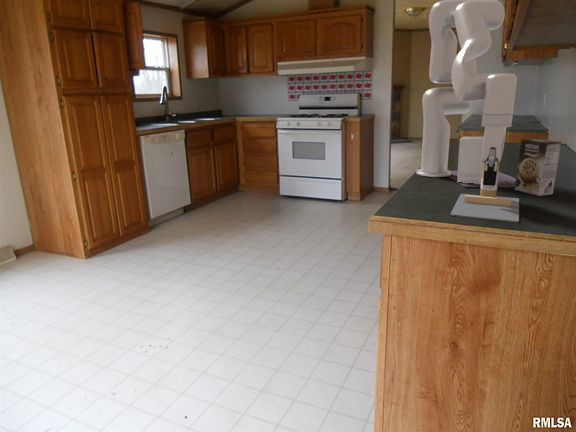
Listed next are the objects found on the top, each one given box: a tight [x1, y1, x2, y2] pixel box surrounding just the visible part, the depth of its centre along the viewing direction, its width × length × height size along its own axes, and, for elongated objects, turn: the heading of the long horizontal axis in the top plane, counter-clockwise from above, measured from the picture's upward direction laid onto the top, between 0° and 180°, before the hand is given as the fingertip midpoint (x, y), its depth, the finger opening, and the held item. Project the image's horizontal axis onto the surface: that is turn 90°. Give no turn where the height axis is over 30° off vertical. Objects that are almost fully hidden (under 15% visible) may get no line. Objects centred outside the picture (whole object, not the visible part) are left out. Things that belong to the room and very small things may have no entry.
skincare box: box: [457, 135, 484, 185], centre depth 148 cm, size 8×7×16 cm
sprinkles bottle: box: [479, 157, 501, 198], centre depth 124 cm, size 5×5×14 cm
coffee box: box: [514, 138, 562, 197], centre depth 133 cm, size 9×6×16 cm
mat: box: [449, 193, 520, 223], centre depth 120 cm, size 24×16×2 cm, turn 153°
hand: (490, 181), depth 124 cm, fingers open, 9 cm apart
